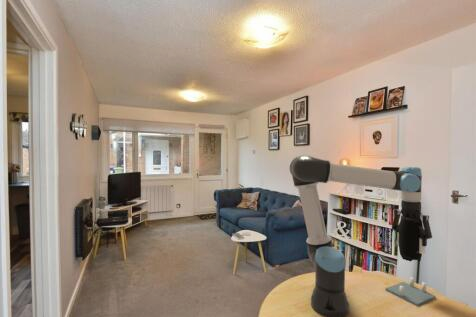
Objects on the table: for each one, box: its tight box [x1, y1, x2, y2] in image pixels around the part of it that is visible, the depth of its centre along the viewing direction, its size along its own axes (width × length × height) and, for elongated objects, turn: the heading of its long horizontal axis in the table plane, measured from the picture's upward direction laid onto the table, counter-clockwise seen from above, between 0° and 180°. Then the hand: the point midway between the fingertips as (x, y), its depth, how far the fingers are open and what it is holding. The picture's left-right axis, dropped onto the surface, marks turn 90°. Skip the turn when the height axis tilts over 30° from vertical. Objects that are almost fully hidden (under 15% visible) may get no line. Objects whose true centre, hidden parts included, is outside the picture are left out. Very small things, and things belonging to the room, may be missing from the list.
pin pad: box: [385, 276, 437, 307], centre depth 115 cm, size 14×14×5 cm
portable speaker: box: [398, 214, 424, 262], centre depth 115 cm, size 9×9×20 cm
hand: (410, 249), depth 115 cm, fingers closed on portable speaker, 9 cm apart
